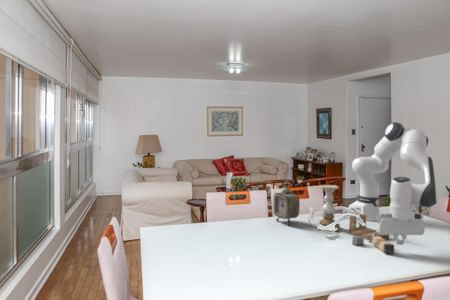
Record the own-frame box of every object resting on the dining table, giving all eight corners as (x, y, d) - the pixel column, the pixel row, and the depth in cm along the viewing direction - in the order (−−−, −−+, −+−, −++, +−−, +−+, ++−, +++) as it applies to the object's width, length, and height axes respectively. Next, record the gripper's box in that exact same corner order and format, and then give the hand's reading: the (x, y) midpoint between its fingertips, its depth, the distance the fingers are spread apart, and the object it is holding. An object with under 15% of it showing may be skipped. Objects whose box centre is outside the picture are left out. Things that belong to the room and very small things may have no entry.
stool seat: (348, 233, 174) (348, 216, 174) (361, 230, 180) (362, 213, 179) (375, 242, 161) (376, 223, 160) (389, 238, 166) (389, 220, 166)
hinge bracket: (367, 242, 161) (368, 232, 160) (372, 241, 162) (372, 231, 162) (374, 244, 157) (375, 234, 157) (378, 243, 159) (379, 233, 159)
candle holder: (316, 229, 181) (317, 186, 180) (320, 224, 191) (321, 183, 190) (336, 232, 176) (337, 188, 175) (339, 227, 186) (341, 185, 185)
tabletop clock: (273, 220, 199) (273, 179, 197) (285, 219, 202) (286, 178, 201) (287, 226, 186) (288, 183, 184) (300, 225, 189) (301, 182, 188)
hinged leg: (369, 242, 159) (369, 234, 159) (377, 242, 159) (377, 234, 159) (385, 253, 144) (385, 245, 144) (393, 253, 144) (394, 245, 144)
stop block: (352, 244, 157) (352, 237, 157) (359, 242, 159) (359, 235, 159) (356, 246, 155) (357, 238, 154) (363, 244, 157) (363, 237, 157)
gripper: (380, 215, 143) (379, 246, 144) (427, 215, 143) (426, 246, 144) (374, 211, 150) (373, 241, 150) (418, 212, 150) (417, 242, 150)
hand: (399, 244), depth 147 cm, fingers closed
